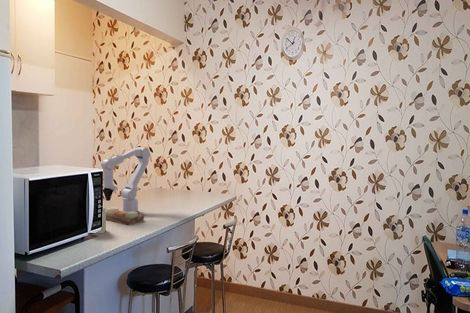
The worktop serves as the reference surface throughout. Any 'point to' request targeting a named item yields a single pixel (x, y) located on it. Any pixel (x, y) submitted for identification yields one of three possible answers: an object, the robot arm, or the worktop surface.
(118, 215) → the salmon pink cube
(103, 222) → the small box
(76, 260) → the worktop surface
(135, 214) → the block
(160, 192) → the worktop surface
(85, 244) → the worktop surface
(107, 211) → the ivory cube
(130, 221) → the slotted board
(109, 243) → the worktop surface
